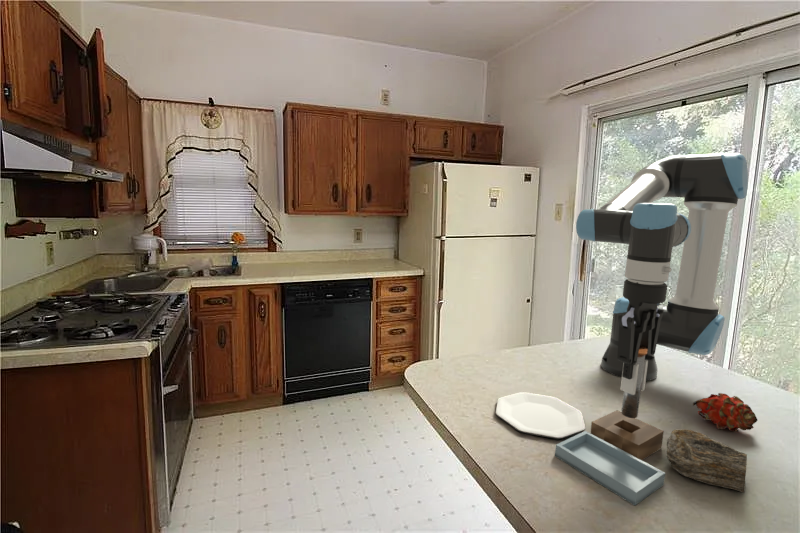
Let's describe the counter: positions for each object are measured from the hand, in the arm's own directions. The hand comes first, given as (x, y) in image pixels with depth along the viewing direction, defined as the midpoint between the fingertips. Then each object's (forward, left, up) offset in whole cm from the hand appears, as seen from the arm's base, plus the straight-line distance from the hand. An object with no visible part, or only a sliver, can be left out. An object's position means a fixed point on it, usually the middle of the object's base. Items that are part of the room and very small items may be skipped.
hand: (632, 389), depth 87 cm
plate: (-17, -7, -13) cm, 22 cm away
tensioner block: (0, 0, -12) cm, 12 cm away
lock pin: (0, 0, -6) cm, 6 cm away
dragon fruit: (+8, +27, -12) cm, 31 cm away
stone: (+13, +3, -13) cm, 19 cm away
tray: (+3, -12, -12) cm, 18 cm away
